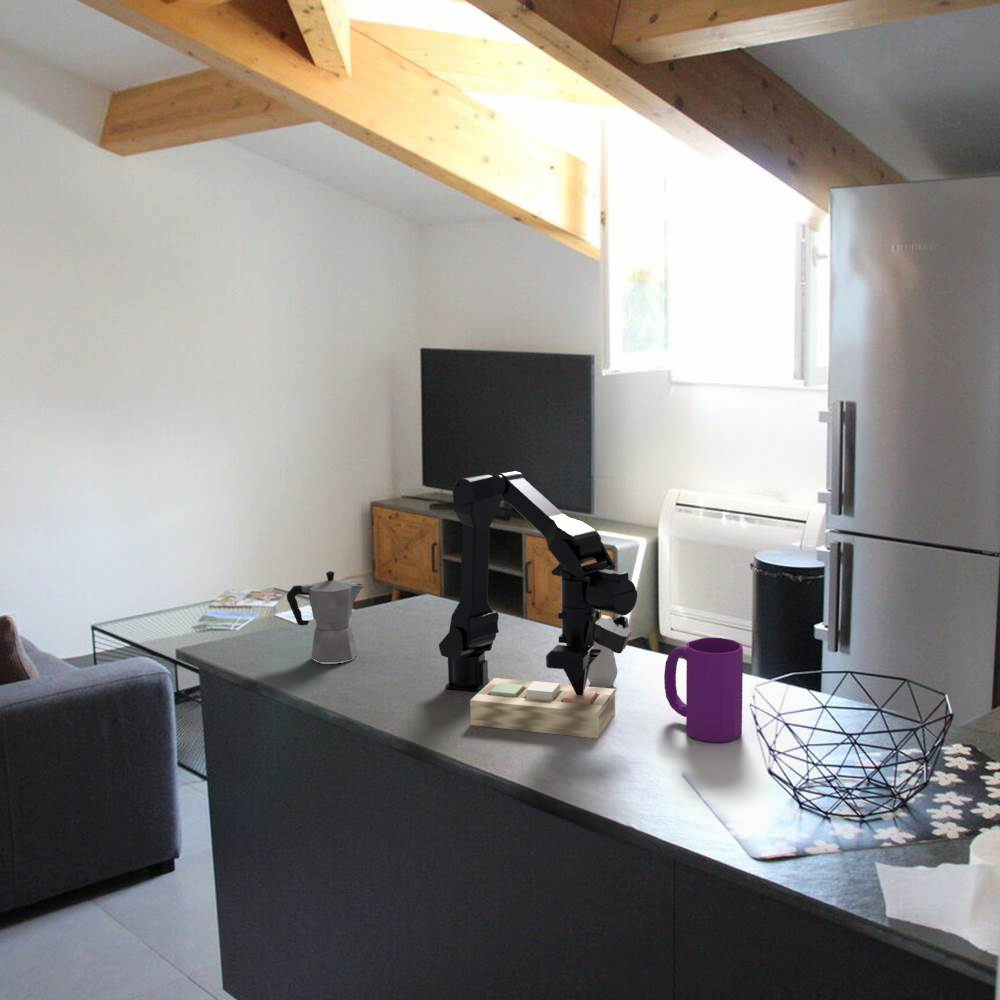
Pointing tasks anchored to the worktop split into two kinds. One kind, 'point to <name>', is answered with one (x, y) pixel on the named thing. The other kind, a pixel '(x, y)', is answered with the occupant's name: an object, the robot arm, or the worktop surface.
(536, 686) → the middle key
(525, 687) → the keypad
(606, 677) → the salt shaker
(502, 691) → the sage key
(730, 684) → the mug
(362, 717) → the worktop surface
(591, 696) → the terracotta key
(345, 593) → the coffeepot
